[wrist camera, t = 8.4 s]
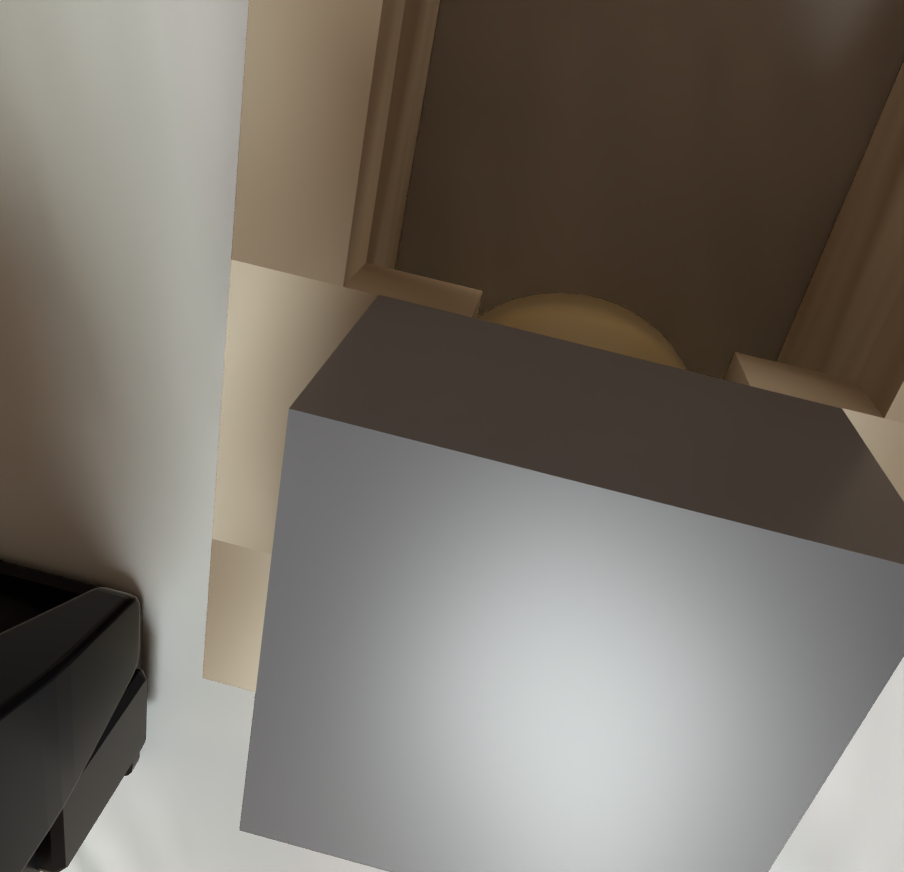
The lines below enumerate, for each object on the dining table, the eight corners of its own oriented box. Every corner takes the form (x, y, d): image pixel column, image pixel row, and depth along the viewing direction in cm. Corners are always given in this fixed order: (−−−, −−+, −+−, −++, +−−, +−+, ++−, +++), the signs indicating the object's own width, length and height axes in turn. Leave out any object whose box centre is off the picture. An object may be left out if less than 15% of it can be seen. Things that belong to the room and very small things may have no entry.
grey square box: (377, 514, 17) (239, 830, 10) (431, 227, 14) (288, 408, 7) (663, 588, 16) (711, 961, 10) (777, 311, 14) (952, 576, 7)
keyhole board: (302, 509, 19) (202, 678, 14) (425, -427, 11) (301, -768, 6) (724, 618, 18) (773, 830, 14) (1145, -282, 11) (1595, -529, 6)
